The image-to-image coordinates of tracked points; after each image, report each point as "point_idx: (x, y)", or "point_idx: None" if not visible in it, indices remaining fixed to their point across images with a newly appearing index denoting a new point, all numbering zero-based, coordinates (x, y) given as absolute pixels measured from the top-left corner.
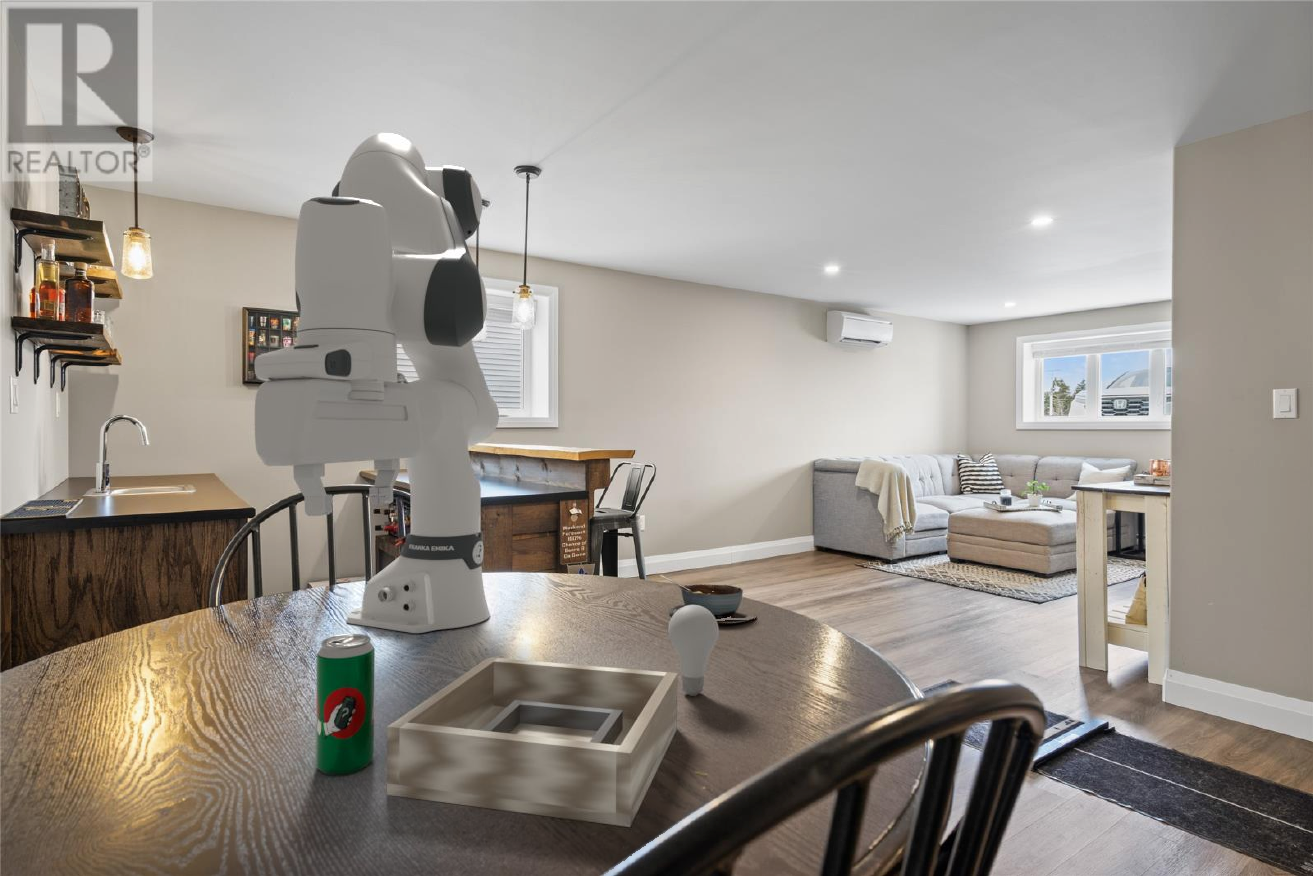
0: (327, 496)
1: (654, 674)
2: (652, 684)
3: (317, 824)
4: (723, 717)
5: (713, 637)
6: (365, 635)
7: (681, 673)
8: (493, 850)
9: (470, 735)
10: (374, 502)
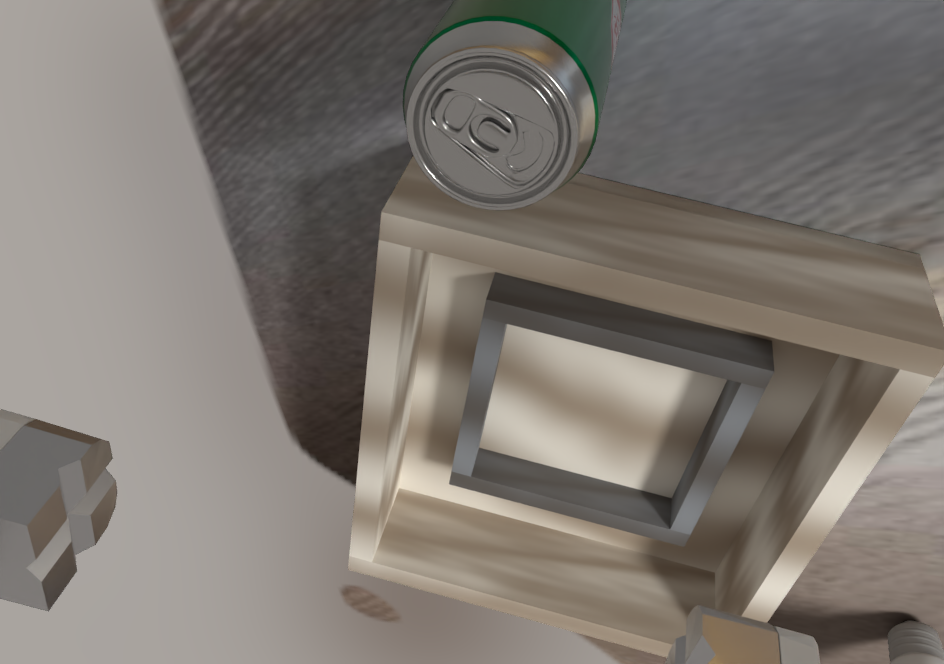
0: (4, 591)
1: None
2: None
3: (296, 40)
4: None
5: None
6: (554, 182)
7: (912, 656)
8: (291, 335)
9: (367, 373)
10: (686, 633)
